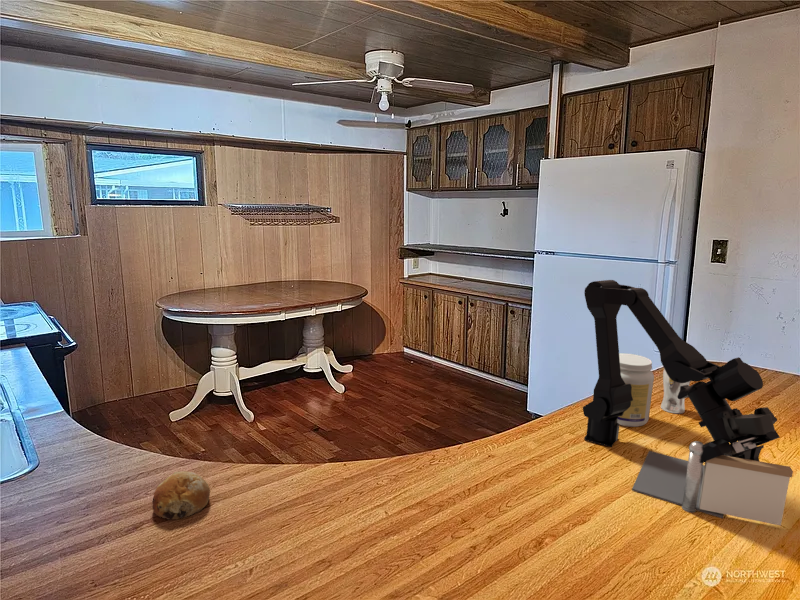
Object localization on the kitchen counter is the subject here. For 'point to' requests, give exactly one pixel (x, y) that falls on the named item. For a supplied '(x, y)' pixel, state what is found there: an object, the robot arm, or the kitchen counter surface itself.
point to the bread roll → (180, 495)
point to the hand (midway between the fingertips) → (762, 489)
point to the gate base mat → (666, 479)
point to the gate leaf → (745, 488)
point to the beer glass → (672, 395)
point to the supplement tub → (637, 388)
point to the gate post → (693, 477)
